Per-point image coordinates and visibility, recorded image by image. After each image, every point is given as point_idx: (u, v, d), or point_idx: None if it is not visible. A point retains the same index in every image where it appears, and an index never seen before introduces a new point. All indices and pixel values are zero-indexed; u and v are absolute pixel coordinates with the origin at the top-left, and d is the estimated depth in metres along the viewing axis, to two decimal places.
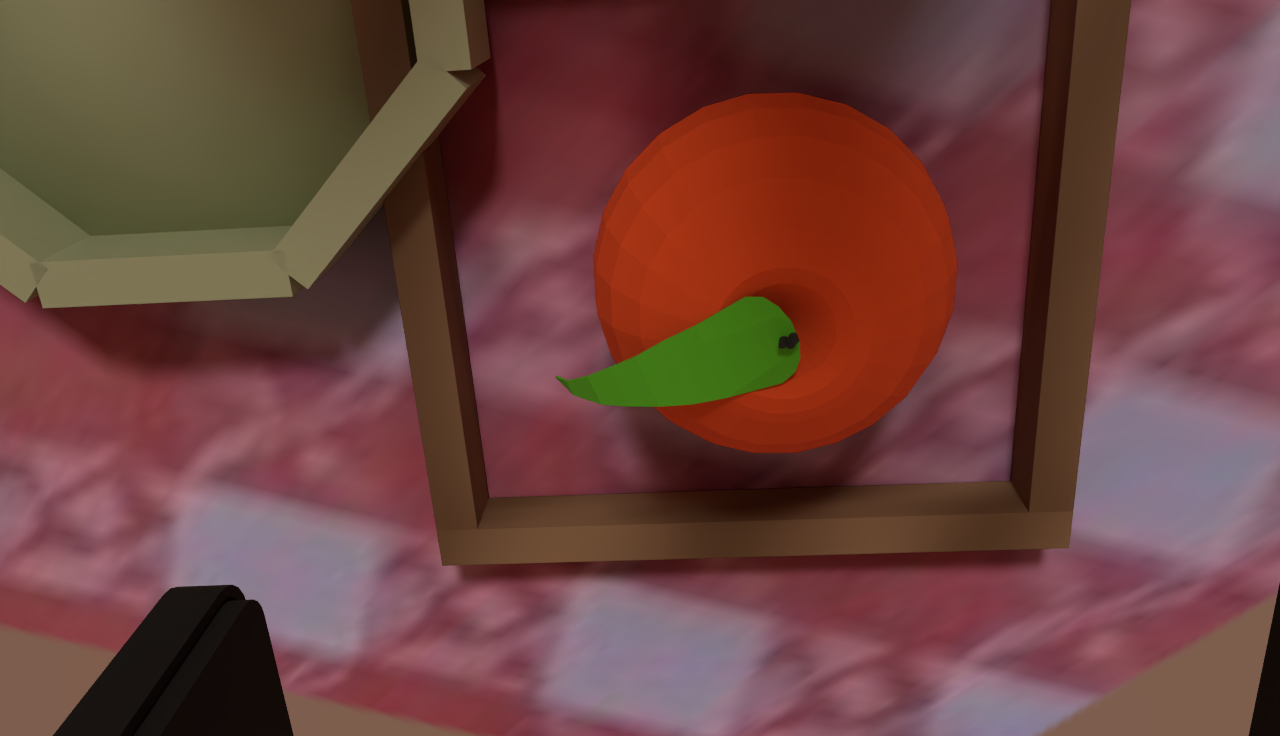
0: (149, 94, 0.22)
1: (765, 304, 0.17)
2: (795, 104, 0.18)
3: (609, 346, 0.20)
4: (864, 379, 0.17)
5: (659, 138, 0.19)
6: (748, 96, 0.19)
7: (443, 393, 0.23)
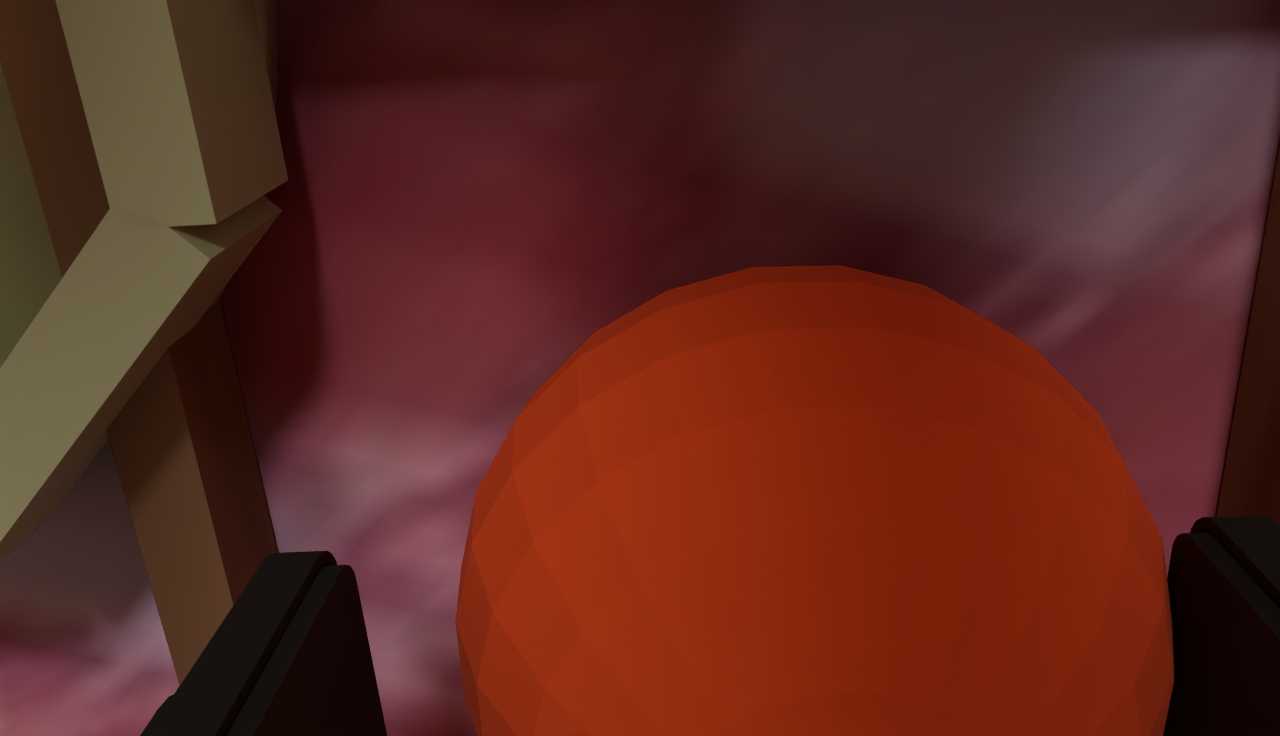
0: None
1: None
2: (854, 319, 0.09)
3: None
4: None
5: (578, 370, 0.09)
6: (755, 290, 0.09)
7: None
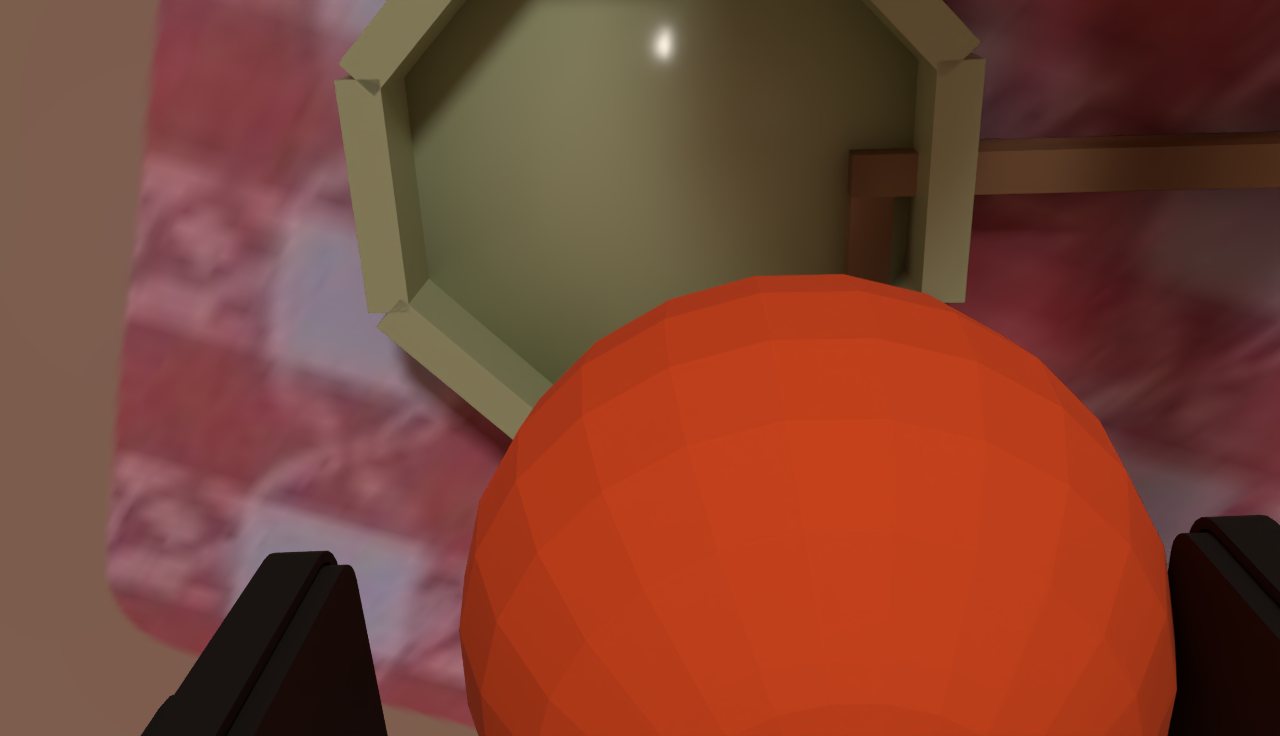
0: (649, 294, 0.26)
1: None
2: (857, 329, 0.09)
3: None
4: None
5: (581, 379, 0.09)
6: (759, 300, 0.09)
7: None
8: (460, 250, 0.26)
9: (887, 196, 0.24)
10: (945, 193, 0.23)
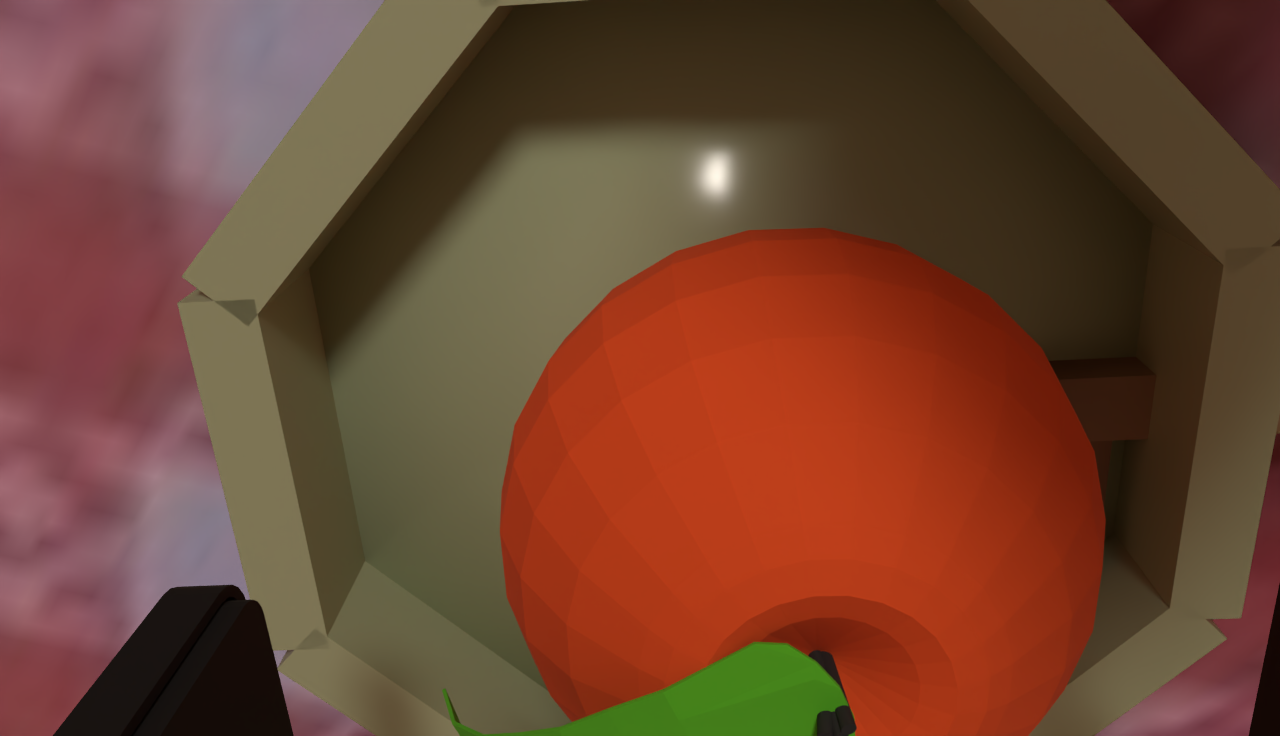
0: None
1: (792, 658, 0.09)
2: (833, 267, 0.10)
3: None
4: None
5: (602, 315, 0.11)
6: (751, 246, 0.11)
7: None
8: (412, 520, 0.17)
9: (1100, 440, 0.15)
10: (1222, 457, 0.13)
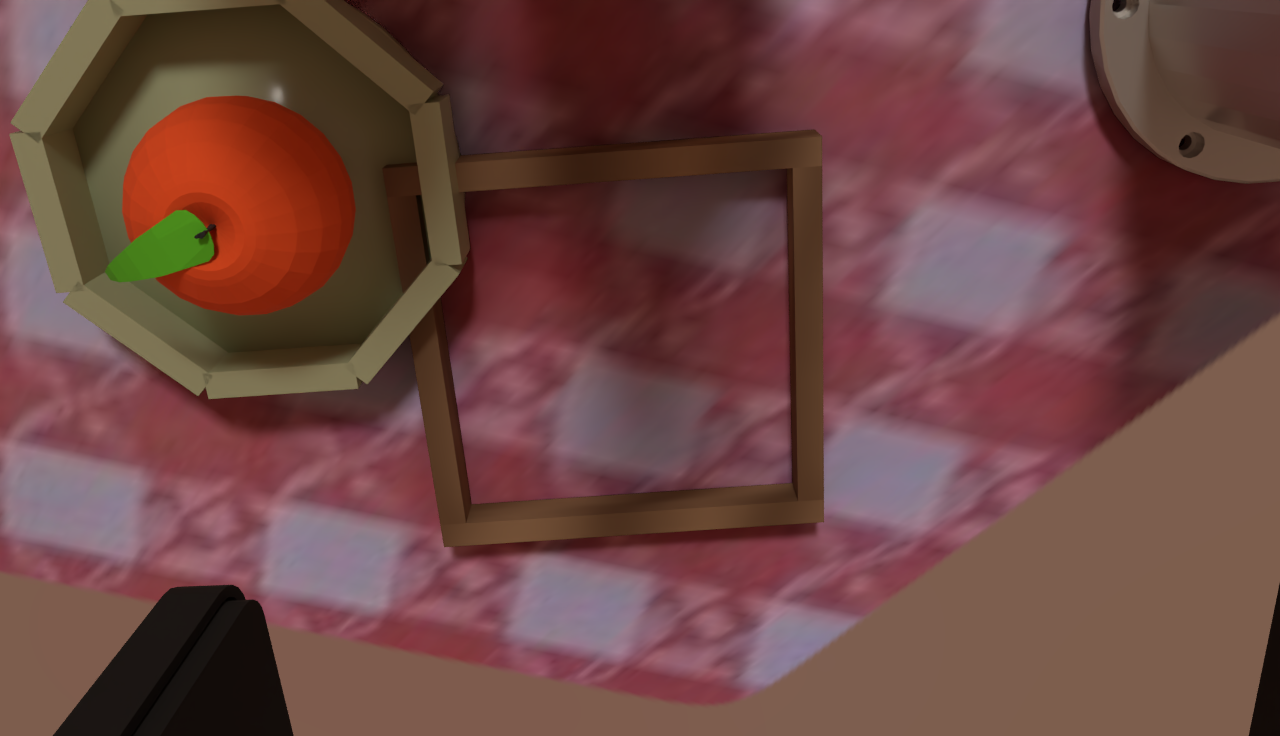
0: None
1: (186, 214, 0.29)
2: (223, 102, 0.31)
3: None
4: (259, 258, 0.30)
5: (155, 124, 0.32)
6: (204, 98, 0.31)
7: (444, 441, 0.39)
8: None
9: (411, 195, 0.35)
10: (432, 191, 0.34)
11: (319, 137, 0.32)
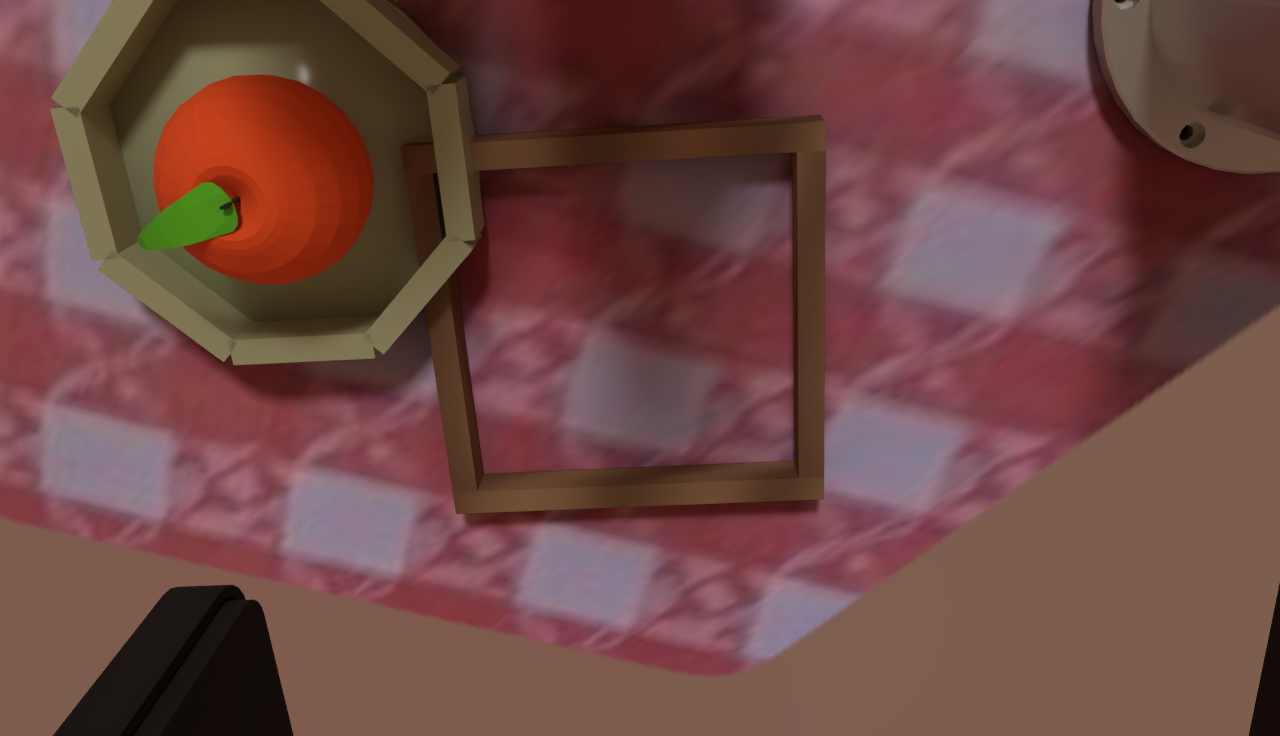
0: None
1: (212, 186, 0.31)
2: (249, 80, 0.32)
3: None
4: (280, 229, 0.32)
5: None
6: (232, 76, 0.33)
7: (457, 411, 0.40)
8: None
9: (428, 173, 0.37)
10: (447, 169, 0.35)
11: (340, 115, 0.34)
